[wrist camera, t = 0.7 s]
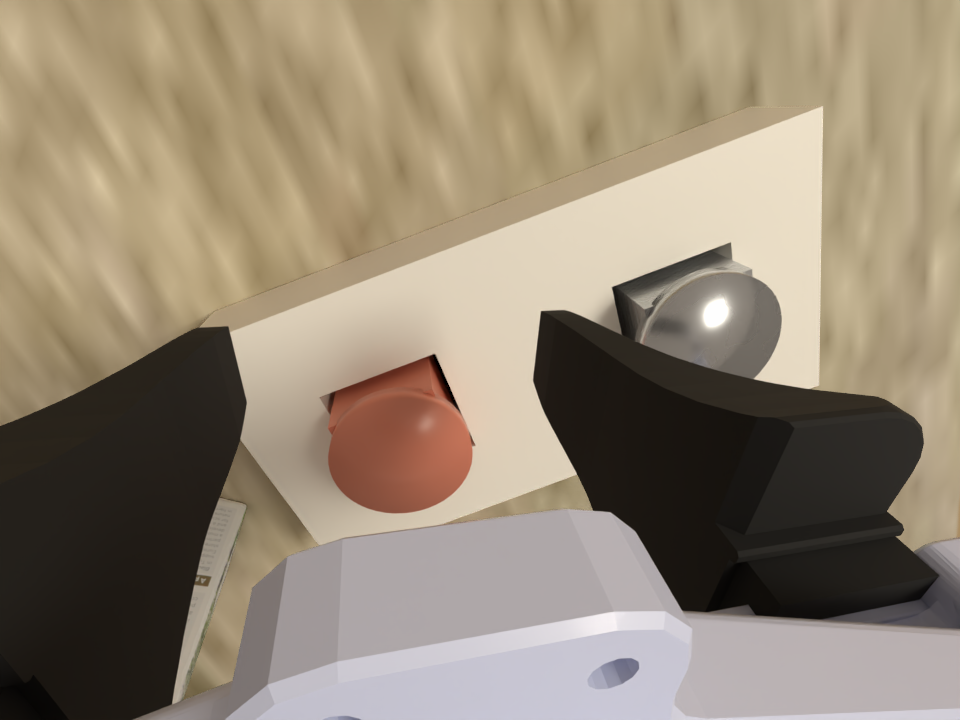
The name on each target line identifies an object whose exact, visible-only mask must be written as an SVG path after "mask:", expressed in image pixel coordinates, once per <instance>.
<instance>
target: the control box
mask: <svg viewBox="0 0 960 720" xmlns="http://www.w3.org/2000/svg"><path fill="white" fill-rule="evenodd" d="M822 140H823V106H783V107H747V108H745V109H742V110H739V111H737V112H734V113H731V114H729V115H726V116H724V117H721V118H718V119H716V120H713V121H711V122H708V123H705V124H703V125H700V126H698V127H695V128H692V129H690V130H687V131H684V132H682V133H679V134H677V135H674V136H671V137H669V138H666V139H664V140H661V141H658V142H656V143H653V144H650V145H648V146H645V147H643V148H640V149H637V150H635V151H632V152H630V153H627V154H624V155H622V156H619V157H617V158H614V159H611V160H609V161H606V162H603V163H601V164H598V165H596V166H593V167H590V168H588V169H585V170H583V171H580V172H577V173H575V174H572V175H570V176H567V177H564V178H562V179H559V180H556V181H554V182H551V183H549V184H546V185H543V186H541V187H538V188H536V189H533V190H530V191H528V192H525V193H522V194H520V195H517V196H515V197H512V198H509V199H507V200H504V201H502V202H499V203H496V204H494V205H491V206H489V207H486V208H483V209H481V210H478V211H475V212H473V213H470V214H468V215H465V216H462V217H460V218H457V219H455V220H452V221H449V222H447V223H444V224H441V225H439V226H436V227H434V228H431V229H428V230H426V231H423V232H421V233H418V234H415V235H413V236H410V237H408V238H405V239H402V240H400V241H397V242H394V243H392V244H389V245H387V246H384V247H381V248H379V249H376V250H374V251H371V252H368V253H366V254H363V255H360V256H358V257H355V258H353V259H350V260H347V261H345V262H342V263H340V264H337V265H334V266H332V267H329V268H327V269H324V270H321V271H319V272H316V273H313V274H311V275H308V276H306V277H303V278H300V279H298V280H295V281H293V282H290V283H287V284H285V285H282V286H279V287H277V288H274V289H272V290H269V291H266V292H264V293H261V294H259V295H256V296H253V297H251V298H248V299H246V300H243V301H240V302H238V303H235V304H232V305H230V306H227V307H225V308H222V309H219V310H217V311H214V312H213V313H212V314H211V315H210V316H209V317H208V318H207V319H206V321H205V322H204V323H203V324H202V325H201V326H200V327H199V328H201V327H222V326H228V327H229V331H230V335H231V339H232V343H233V347H234V351H235V355H236V359H237V364H238V368H239V372H240V376H241V380H242V384H243V388H244V392H245V396H246V400H247V406H246V412H245V418H244V424H243V428H242V433H241V438H240V440H241V441H242V443H243V444H244V445H245V447H246V448H247V449H248V451H249V452H250V453H251V455H252V456H253V457H254V459H255V460H256V461H257V463H258V464H259V465H260V467H261V468H262V470H263V471H264V472H265V474H266V475H267V476H268V478H269V479H270V480H271V482H272V483H273V484H274V486H275V487H276V488H277V490H278V491H279V492H280V494H281V495H282V496H283V498H284V499H285V500H286V502H287V503H288V504H289V506H290V507H291V508H292V510H293V511H294V513H295V514H296V515H297V517H298V518H299V519H300V521H301V522H302V523H303V525H304V526H305V527H306V529H307V530H308V531H309V533H310V534H311V535H312V537H313V538H314V539H315V541H316V542H317V543H318V545H322V544H326V543H329V542H332V541H335V540H338V539H341V538H345V537H353V536H360V535H368V534H375V533H383V532H390V531H398V530H405V529H413V528H420V527H428V526H435V525H441V524H444V523H447V522H449V521H452V520H455V519H457V518H460V517H463V516H466V515H468V514H471V513H474V512H476V511H479V510H482V509H485V508H487V507H490V506H493V505H495V504H498V503H501V502H504V501H506V500H509V499H512V498H514V497H517V496H520V495H523V494H525V493H528V492H531V491H533V490H536V489H539V488H542V487H544V486H547V485H550V484H552V483H555V482H558V481H561V480H563V479H566V478H569V477H571V476H574V475H577V473H576V471H575V469H574V468H573V466H572V464H571V462H570V460H569V458H568V457H567V455H566V453H565V451H564V449H563V447H562V445H561V444H560V442H559V440H558V438H557V436H556V434H555V432H554V431H553V429H552V427H551V425H550V423H549V421H548V419H547V417H546V415H545V413H544V411H543V409H542V406H541V403H540V400H539V398H538V395H537V392H536V389H535V386H534V383H533V374H534V366H535V357H536V349H537V340H538V331H539V323H540V314H541V311H551V310H567V311H570V312H573V313H575V314H578V315H580V316H582V317H585V318H587V319H589V320H591V321H593V322H596V323H598V324H600V325H602V326H604V327H606V328H608V329H610V330H612V331H614V332H617V333H619V334H621V335H622V333H621V328H620V323H619V319H618V314H617V309H616V305H615V300H614V295H613V291H612V287H613V286H616V285H618V284H621V283H624V282H626V281H629V280H632V279H634V278H637V277H640V276H642V275H645V274H648V273H650V272H653V271H656V270H658V269H661V268H664V267H666V266H669V265H672V264H674V263H677V262H679V261H682V260H685V259H687V258H690V257H693V256H695V255H698V254H701V253H703V252H706V251H709V250H711V251H713V252H715V253H717V254H720V255H722V256H724V257H726V258H729V259H731V260H733V261H735V262H738V263H740V264H742V265H744V266H747V267H749V268H751V269H752V275H753V277H754V278H756V279H758V280H760V281H761V282H763V283H764V284H766V285H767V286H768V287H769V288H770V289H771V290H772V291H773V293H774V294H775V296H776V298H777V300H778V302H779V305H780V309H781V316H782V325H781V332H780V337H779V340H778V343H777V346H776V348H775V350H774V352H773V354H772V356H771V358H770V360H769V361H768V362H767V364H766V365H765V367H764V368H763V369H762V370H761V372H760V373H759V374H758V375H757V376H756V377H755V378H754V379H755V380H760V381H765V382H770V383H775V384H781V385H787V386H793V387H799V388H805V389H810V388H813V387H816V386H818V385H819V350H820V280H821V210H822ZM433 354H436V357H437V359H438V361H439V363H440V366H441V368H442V370H443V372H444V375H445V377H446V379H447V382H448V384H449V386H450V388H451V391H452V393H453V395H454V398H455V400H456V401H454V402H453V403H454V405H455V408H456V409H457V410H458V411H459V412H460V413H461V415H462V416H463V418H464V420H465V422H466V424H467V427H468V430H469V435H470V439H471V444H472V453H473V457H472V464H471V467H470V470H469V473H468V475H467V477H466V479H465V480H464V482H463V483H462V485H461V486H460V487H459V488H458V489H457V490H456V491H455V492H454V493H453V494H452V495H451V496H449V497H448V498H447V499H445V500H444V501H442V502H440V503H438V504H437V505H434V506H432V507H430V508H427V509H424V510H421V511H416V512H411V513H396V514H394V513H384V512H378V511H374V510H371V509H368V508H365V507H363V506H361V505H359V504H357V503H355V502H353V501H352V500H351V499H349V498H348V497H347V496H346V495H345V494H344V493H342V492H341V490H340V489H339V488H338V487H337V485H336V484H335V482H334V480H333V478H332V476H331V473H330V470H329V465H328V453H329V447H330V442H331V437H332V434H331V433H330V431H329V430H328V424H329V420H330V415H331V411H332V406H333V402H334V397H335V393H336V391H337V390H340V389H342V388H345V387H348V386H350V385H353V384H356V383H358V382H361V381H364V380H366V379H369V378H372V377H374V376H377V375H379V374H382V373H385V372H387V371H390V370H393V369H395V368H398V367H401V366H403V365H406V364H409V363H411V362H414V361H417V360H419V359H422V358H425V357H427V356H430V355H433Z"/></svg>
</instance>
